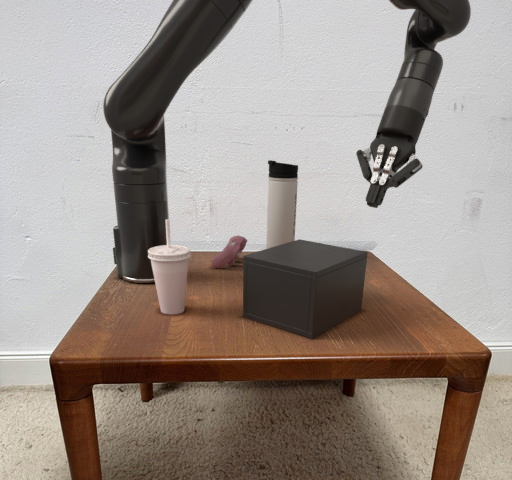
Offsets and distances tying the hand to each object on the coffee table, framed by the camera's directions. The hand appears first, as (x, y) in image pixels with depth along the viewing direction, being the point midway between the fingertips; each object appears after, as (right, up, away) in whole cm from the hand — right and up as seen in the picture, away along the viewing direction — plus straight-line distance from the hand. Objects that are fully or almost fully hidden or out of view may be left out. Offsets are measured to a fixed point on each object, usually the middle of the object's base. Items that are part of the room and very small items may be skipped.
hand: (371, 206), depth 91 cm
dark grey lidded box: (-14, -21, -14) cm, 29 cm away
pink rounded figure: (-27, -9, +12) cm, 31 cm away
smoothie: (-35, -20, -14) cm, 43 cm away
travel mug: (-16, -6, +20) cm, 26 cm away
